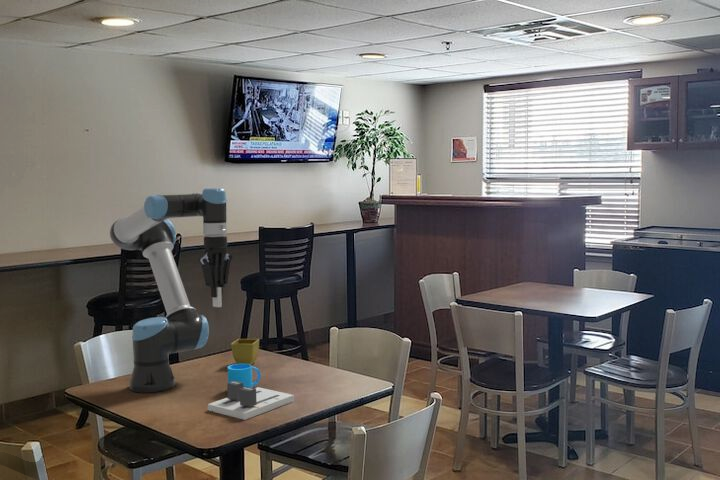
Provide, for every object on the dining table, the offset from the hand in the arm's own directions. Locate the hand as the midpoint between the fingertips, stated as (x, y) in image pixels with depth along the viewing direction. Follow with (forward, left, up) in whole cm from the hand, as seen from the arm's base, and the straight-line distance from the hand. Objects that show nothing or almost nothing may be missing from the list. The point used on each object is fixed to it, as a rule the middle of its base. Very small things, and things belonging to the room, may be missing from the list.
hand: (217, 306), depth 246 cm
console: (+19, -4, -29) cm, 35 cm away
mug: (+4, +8, -30) cm, 31 cm away
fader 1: (+15, -7, -27) cm, 32 cm away
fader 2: (+23, -10, -27) cm, 37 cm away
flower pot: (-20, +32, -29) cm, 48 cm away
